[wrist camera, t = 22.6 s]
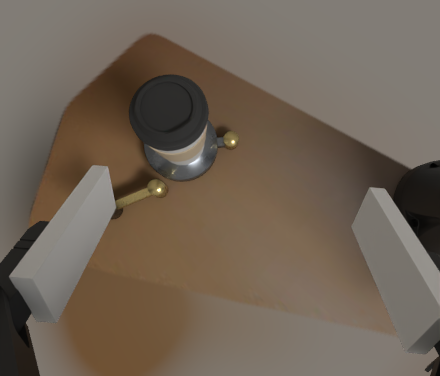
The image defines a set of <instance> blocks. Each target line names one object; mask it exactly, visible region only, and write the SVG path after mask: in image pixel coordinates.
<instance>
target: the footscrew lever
mask: <svg viewBox="0 0 440 376" xmlns="http://www.w3.org/2000/svg"><path fill="white" fill-rule="evenodd" d="M167 193H168V187H167V186H166V185H165V184H164V183H163V182H162V181H160V180H158V179H153V180H151V181H150V182H149V183H148V187H147V188H145V189H143V190H141V191H138V192H136V193H133V194H131V195H128V196H126V197H124V198H121V199H119V200H116V201H115V204H116V209H115V211H114V213H113V215H112V217H111V219H117V218H119V217H120V216H121V214H122V212H123V207H126V206H128V205H131V204H133V203H135V202H138V201H140V200H143V199H145V198H147V197H150V196H152V195H154V196H156V197H158V198H163V197H165V196H166V195H167Z"/></svg>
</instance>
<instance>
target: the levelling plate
mask: <svg viewBox="0 0 440 376" xmlns="http://www.w3.org/2000/svg"><path fill="white" fill-rule="evenodd" d="M238 140H239V137H238V135H237V133H235V132H233V131H229V132H227V133H226V134H225V135H224V137H220V138H217V136H216V132H215V130H214V128H213V126H212V124H211V123H210V122H209V120H208V121H207V130H206V139H205V143H204V149H203V152H202V154H201V155H200V157H199V158H198V159H197V160H196V161H194V162H192V163H190V164H187V165H177V164H173V163H171V162H170V161H168V160H167V159H165V158H163V157H162V156H161V155H159V154H158V153H157V152H156V151H154V150H153V149H152V148H151V147H149V146H148V145H147V144H145V143H144V149H145V154H146V157H147V159H148V161H149V163H150V165H151V166H152V167H153V168H154V169H155V170H156V171H157V172H158V173H159V174H161V175H162V176H163V177H165V178H167V179H170V180H173V181H180V182H183V181H190V180H194V179H196V178H198V177H200V176H202V175H203V174H204V173H206V172H207V171H208V170H209V169H210V167H211V166H212V164H213V163H214V161H215V158H216V155H217V145H218V148H221V147H225V148H227V149H230V150H232V149H234V148H236V147H237V145H238Z"/></svg>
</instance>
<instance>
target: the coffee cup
mask: <svg viewBox="0 0 440 376" xmlns="http://www.w3.org/2000/svg"><path fill="white" fill-rule="evenodd" d="M208 114H209V111H208V104H207V101H206V98H205V96H204V94H203V92H202V90H201V89H200V88H199V86H198V85H197V84H196V83H194V82H193V81H191V80H190V79H188V78H186V77H183V76H179V75H162V76H158V77H155V78H153V79H151V80H149V81H147V82H146V83H145V84H143V85H142V86H141V87H140V88H139V89H138V90H137V92H136V93H135V95H134V96H133V98H132V101H131V104H130V108H129V118H130V123H131V125H132V128H133V130H134V131H135V133H136V135H137V136H138V137H139V138H140V139H141V140H142V141H143V142H144V143H145V144H147V145H148V146H149V147H151V148H152V149H153V150H154V151H156V152H157V153H158V154H159V155H161V156H162V157H163V158H165V159H167V160H168V161H170V162H171V163H173V164H177V165H187V164H190V163H192V162H194V161H196V160H197V159H198V158H199V157H200V155H201V154H202V152H203V149H204V143H205V139H206V130H207V121H208Z"/></svg>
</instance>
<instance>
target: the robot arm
mask: <svg viewBox="0 0 440 376" xmlns="http://www.w3.org/2000/svg"><path fill="white" fill-rule="evenodd" d="M115 209H116V204H115V199H114V195H113V190H112V185H111V180H110V175H109V170H108V166H96V165H92V167H91V168H90V169H89V171H88V172H87V173H86V175H85V176H84V177H83V179H82V180H81V181H80V183H79V184H78V185H77V187H76V188H75V189H74V191H73V192H72V193H71V194H70V196H69V197H68V198H67V200H66V201H65V202H64V204H63V205H62V206H61V208H60V209H59V210H58V212H57V213H56V214H55V216H54V217H53V218H52V220H51V221H50V222H47V221H39V222H38V223H36V224H35V225H33V226H32V227H30V228H29V229H28V230H27V231H26V232H25V234H24V235H23V236H22V237H21V239H20V241H18V242H17V243H16V245H15V246H14V248H13V249H11V251H10V252H9V253H8V255H7V256H6V257H5V258H4V259H3V261H2V262H1V263H0V376H40V374H39V370H38V366H37V362H36V358H35V353H34V349H33V345H32V341H31V337H30V333H29V329H28V326H27V324H26V321H27V320H28V318H29V316H30V315H31V313H32V315H33V317H34V318H35V320H36V321H38V322H50V323H57V321H58V319H59V317H60V315H61V313H62V312H63V310H64V308H65V306H66V304H67V302H68V300H69V298H70V296H71V294H72V292H73V290H74V288H75V286H76V284H77V283H78V281H79V279H80V277H81V275H82V273H83V271H84V269H85V267H86V265H87V263H88V261H89V259H90V258H91V256H92V254H93V252H94V250H95V248H96V246H97V244H98V242H99V240H100V238H101V236H102V234H103V232H104V231H105V229H106V227H107V225H108V223H109V221H110V219H111V217H112V215H113V213H114V211H115ZM351 228H352V230H353V232H354V235H355V237H356V239H357V242H358V244H359V246H360V249H361V251H362V253H363V256H364V258H365V260H366V263H367V265H368V267H369V269H370V272H371V274H372V276H373V279H374V281H375V283H376V286H377V288H378V290H379V293H380V295H381V297H382V300H383V302H384V304H385V307H386V309H387V311H388V314H389V316H390V318H391V321H392V323H393V325H394V328H395V330H396V332H397V334H398V337H399V339H400V341H401V344H402V346H403V348H404V351H405V352H406V353H417V354H427V353H428V352H429V351H430V350H431V349H432V348H433V347H435V349H436V351H437V352H438V354H439V357H437V358H436V359H435V360H434V361H433V362H432V363H431V364H429V365H428V366H427V368H426V369H425V371H427V372H429V371H430V370H431V369H432V372H431V375H430V376H440V160H438V161H433V162H429V163H426V164H423V165H420V166H418V167H416V168H414V169H412V170H411V171H409V172H408V173H407V174H406V175H405V176H404V177H403V178H402V180H401V181H400V183H399V184H398V186H397V189H396V191H395V195H394V202H393V200H392V199H391V197H390V196H389V194H388V193H387V191H386V190H385V189H384V188H372V187H369V189H368V192H367V194H366V196H365V198H364V200H363V202H362V205H361V207H360V209H359V211H358V213H357V215H356V218H355V220H354V222H353V224H352V226H351Z"/></svg>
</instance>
